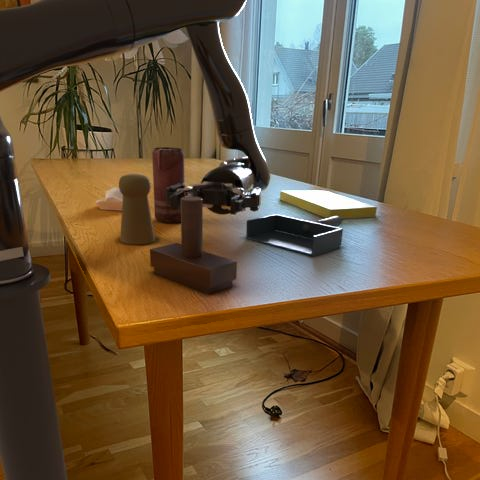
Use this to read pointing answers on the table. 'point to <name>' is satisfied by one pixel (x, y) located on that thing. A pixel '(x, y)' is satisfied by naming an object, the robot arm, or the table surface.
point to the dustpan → (296, 233)
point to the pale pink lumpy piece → (111, 200)
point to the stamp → (193, 255)
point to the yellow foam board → (328, 204)
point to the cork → (136, 210)
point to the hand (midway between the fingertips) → (203, 205)
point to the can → (166, 181)
